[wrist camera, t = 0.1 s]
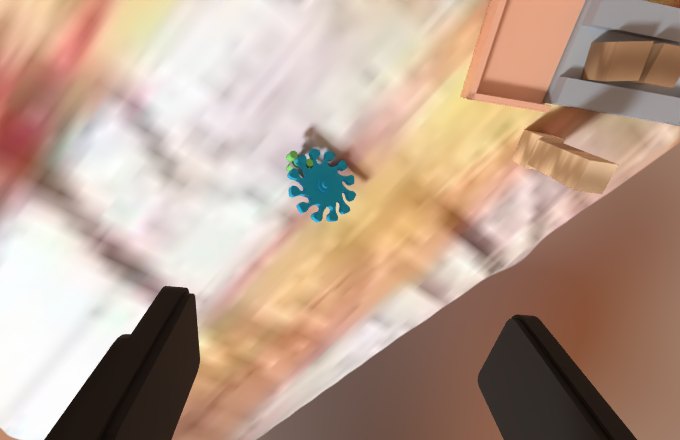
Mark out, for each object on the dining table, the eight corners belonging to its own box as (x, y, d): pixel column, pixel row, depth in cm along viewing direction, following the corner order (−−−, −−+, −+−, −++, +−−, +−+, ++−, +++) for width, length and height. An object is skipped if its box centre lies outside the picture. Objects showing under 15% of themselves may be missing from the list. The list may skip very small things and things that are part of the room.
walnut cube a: (633, 43, 39) (664, 43, 35) (662, 49, 39) (696, 49, 35) (615, 79, 40) (643, 82, 37) (642, 84, 41) (673, 87, 37)
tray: (501, -37, 35) (513, -43, 33) (590, -17, 36) (607, -21, 34) (460, 96, 42) (467, 99, 39) (537, 109, 43) (548, 112, 41)
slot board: (587, -7, 37) (606, -11, 34) (726, 23, 39) (753, 22, 37) (541, 101, 42) (555, 105, 40) (665, 122, 45) (685, 127, 42)
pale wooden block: (524, 129, 44) (591, 155, 33) (547, 133, 44) (622, 160, 33) (511, 160, 46) (571, 194, 35) (534, 163, 47) (600, 198, 35)
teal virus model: (370, 188, 45) (329, 237, 41) (348, 196, 50) (309, 241, 46) (319, 126, 42) (268, 171, 38) (301, 142, 47) (254, 183, 43)
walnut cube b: (591, 42, 38) (618, 41, 35) (623, 41, 38) (654, 40, 35) (580, 78, 40) (605, 81, 37) (610, 77, 40) (638, 80, 37)
